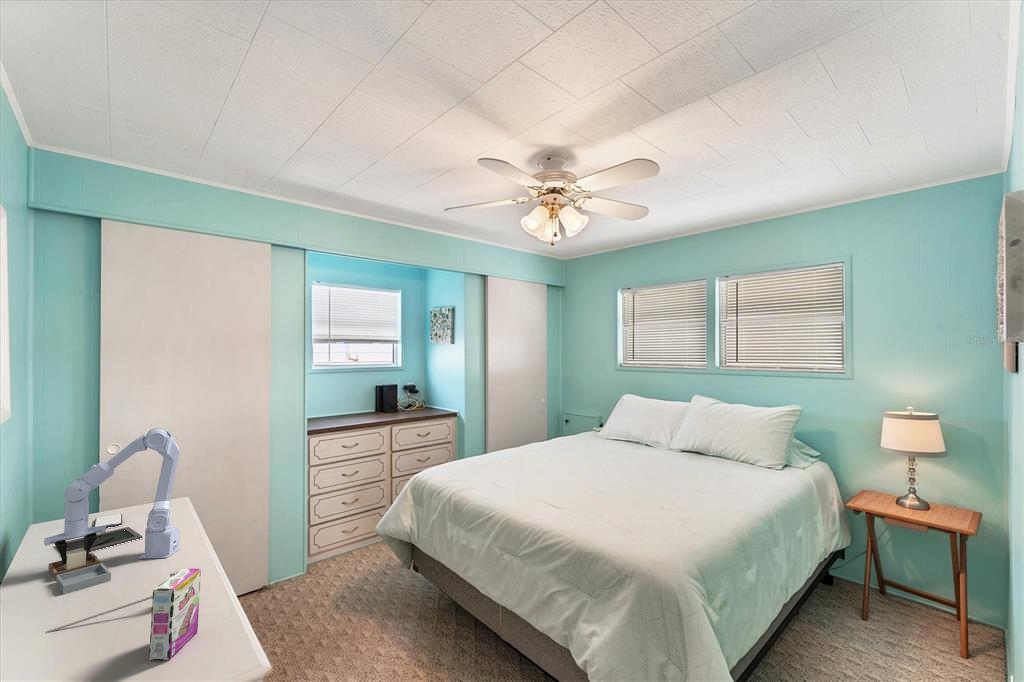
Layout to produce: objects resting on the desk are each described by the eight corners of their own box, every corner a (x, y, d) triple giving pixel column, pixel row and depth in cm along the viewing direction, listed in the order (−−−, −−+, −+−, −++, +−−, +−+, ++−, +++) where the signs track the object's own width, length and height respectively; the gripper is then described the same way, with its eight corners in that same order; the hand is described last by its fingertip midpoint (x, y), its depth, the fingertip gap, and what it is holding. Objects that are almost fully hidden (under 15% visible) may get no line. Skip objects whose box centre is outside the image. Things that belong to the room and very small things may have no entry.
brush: (54, 645, 119) (49, 609, 120) (182, 601, 132) (177, 568, 133) (48, 652, 116) (43, 614, 116) (180, 606, 129) (175, 572, 129)
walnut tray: (100, 568, 150) (100, 561, 151) (54, 581, 142) (55, 573, 142) (92, 559, 157) (92, 552, 157) (48, 571, 148) (48, 563, 148)
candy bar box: (170, 661, 106) (173, 589, 107) (148, 662, 106) (150, 590, 106) (199, 632, 117) (201, 567, 118) (179, 632, 117) (181, 567, 117)
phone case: (94, 521, 194) (93, 532, 181) (95, 517, 194) (93, 528, 182) (122, 517, 199) (122, 527, 187) (122, 513, 199) (122, 523, 187)
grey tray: (110, 580, 143) (111, 572, 143) (63, 594, 134) (63, 586, 134) (101, 570, 149) (102, 563, 149) (56, 583, 141) (56, 575, 141)
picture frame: (67, 559, 158) (142, 540, 175) (67, 554, 158) (142, 535, 175) (55, 548, 167) (128, 530, 184) (56, 542, 167) (128, 525, 184)
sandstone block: (85, 566, 150) (86, 551, 150) (66, 571, 146) (67, 555, 146) (82, 562, 153) (83, 547, 153) (63, 567, 149) (64, 552, 149)
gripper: (102, 510, 158) (101, 549, 158) (43, 522, 147) (41, 565, 146) (108, 514, 154) (106, 555, 153) (47, 527, 142) (45, 571, 142)
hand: (75, 560), depth 150 cm, fingers closed on sandstone block, 4 cm apart
